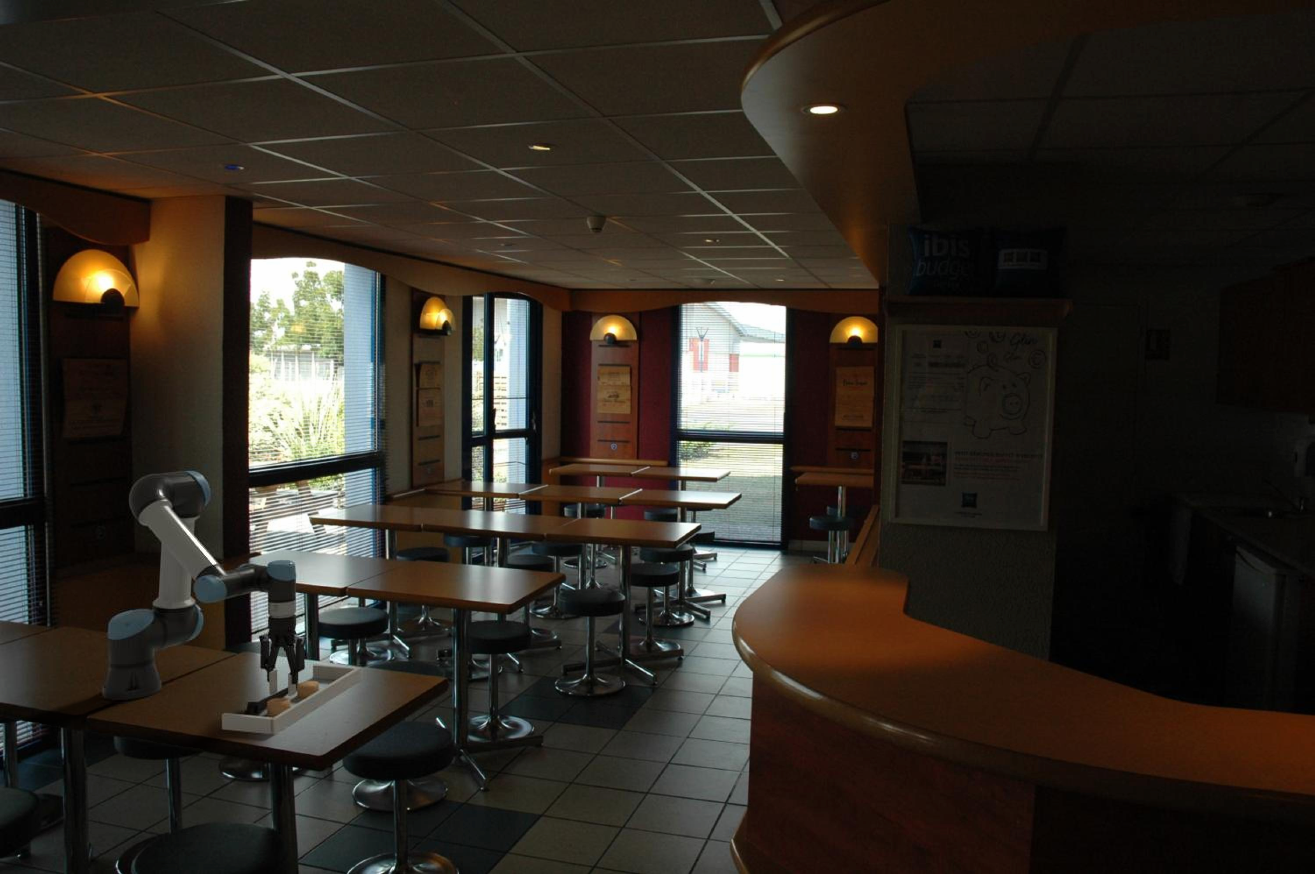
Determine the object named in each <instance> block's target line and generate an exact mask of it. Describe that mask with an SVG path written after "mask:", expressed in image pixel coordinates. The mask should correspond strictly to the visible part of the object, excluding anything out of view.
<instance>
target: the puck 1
mask: <svg viewBox="0 0 1315 874" xmlns="http://www.w3.org/2000/svg"><path fill="white" fill-rule="evenodd" d="M289 708H291V699H290V698H288V697H282V698H275V699H272V700H269V701H268V702H267V707H266V717H272V718H274V717H275V716H277V715H279V714H280V713H282V712H284V711H285V710H287V709H289Z"/></svg>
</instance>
